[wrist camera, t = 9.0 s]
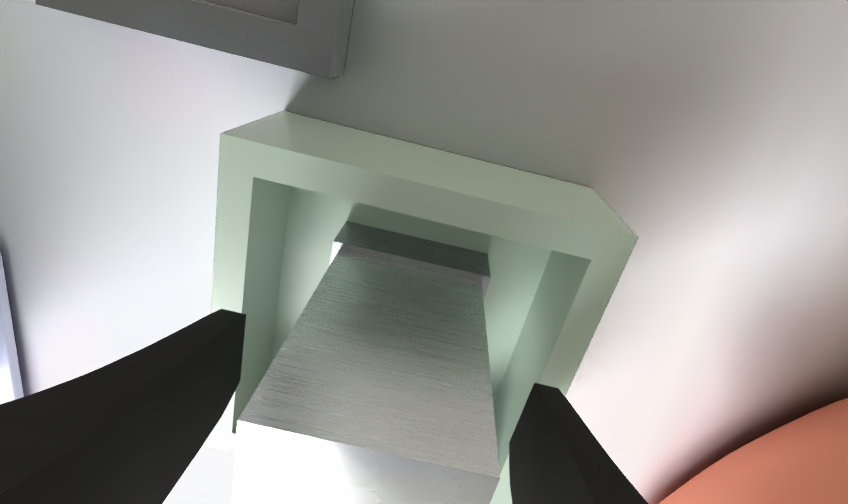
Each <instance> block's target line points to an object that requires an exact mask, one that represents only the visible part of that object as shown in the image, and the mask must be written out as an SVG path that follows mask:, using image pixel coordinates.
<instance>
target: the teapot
mask: <svg viewBox="0 0 848 504" xmlns="http://www.w3.org/2000/svg"><path fill="white" fill-rule="evenodd" d="M659 504H848V398H846V399H843V400H840V401H837V402H834V403H832V404H830V405H827V406H825V407H822V408H820V409H818V410H815V411H813V412H811V413H809V414H807V415H804V416H802V417H800V418H798V419H796V420H794V421H792V422H790V423H788V424H786V425H784V426H781V427H779V428H777V429H775V430H773V431H771V432H769V433H767V434H765V435H763V436H761V437H759V438H757V439H755V440H754V441H752V442H750V443H748V444H746V445H744V446H742V447H740V448H739V449H737V450H735V451H733V452H732V453H730V454H728V455H727V456H725V457H723V458H722V459H720V460H719V461H717V462H715V463H714V464H712V465H711V466H709V467H708V468H706V469H705V470H703V471H702V472H700V473H699V474H698V475H696V476H695V477H693V478H692V479H691V480H689V481H688V482H686V483H685V484H684V485H682V486H681V487H680V488H678V489H677V490H676V491H674V492H673V493H672V494H670V495H669V496H668V497H666V498H665V499H664V500H662V501H661V502H660V503H659Z"/></svg>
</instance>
